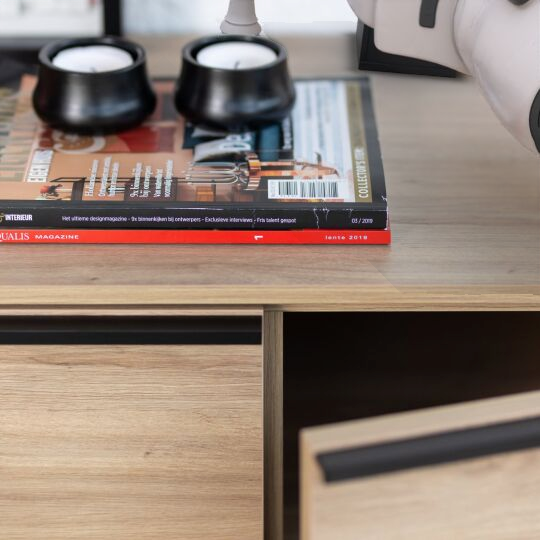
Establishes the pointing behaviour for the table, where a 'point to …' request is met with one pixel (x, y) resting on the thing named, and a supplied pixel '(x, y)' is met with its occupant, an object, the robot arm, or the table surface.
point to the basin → (392, 57)
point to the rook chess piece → (241, 19)
